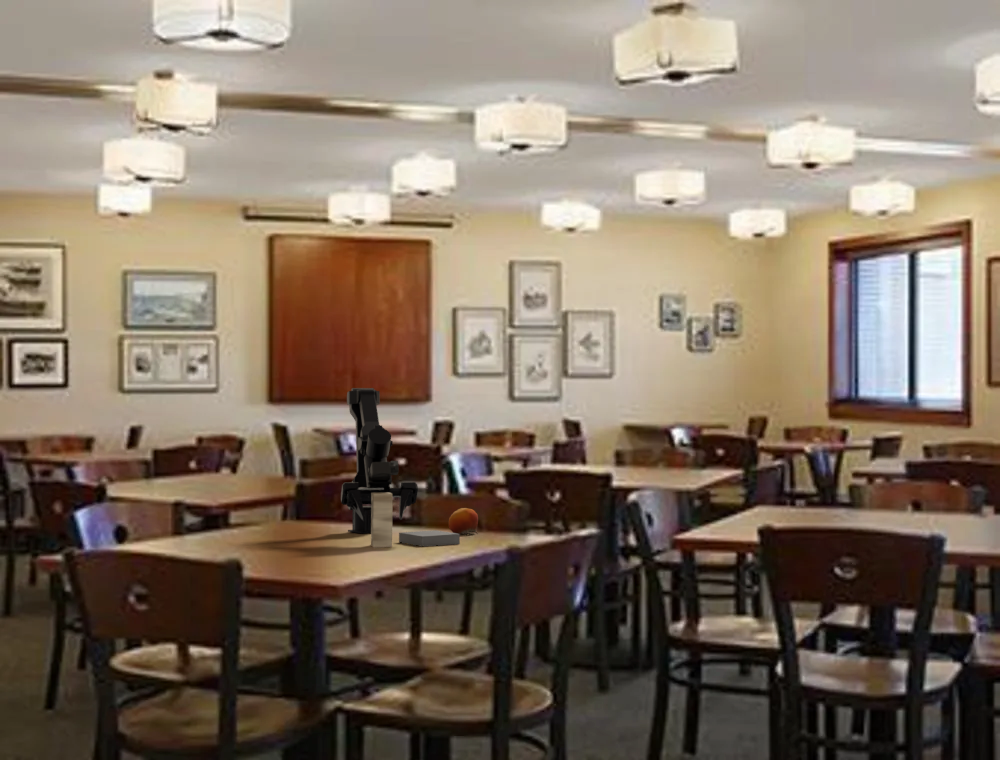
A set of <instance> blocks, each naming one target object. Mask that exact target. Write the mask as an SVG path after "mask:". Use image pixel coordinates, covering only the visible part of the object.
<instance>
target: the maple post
mask: <svg viewBox="0 0 1000 760" xmlns="http://www.w3.org/2000/svg"><path fill="white" fill-rule="evenodd" d="M370 506H371V533H370V546H371V547H373V548H392V547H393V497H392V493H371V504H370Z"/></svg>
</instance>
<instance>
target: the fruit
mask: <svg viewBox="0 0 1000 760" xmlns="http://www.w3.org/2000/svg"><path fill="white" fill-rule="evenodd" d="M478 524H479V515H478V513H477V512H476V510H474V509H472V508H467V507H461V508H458V509H457V510H455V511H454V512H453V513H451V515H450V516H449V518H448V528H449V530H450V531H451V533H456V534H460V535H464V534H465V535H468V533H470V534H471V533H476V534H477V535H478V534H479V532H477V529H478Z"/></svg>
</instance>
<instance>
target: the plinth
mask: <svg viewBox="0 0 1000 760" xmlns="http://www.w3.org/2000/svg"><path fill="white" fill-rule="evenodd" d="M460 536H461V534H456V533H453V532H449V531H442V530H420V531H406V532H405V531H402V532H398V543H399V542H402V543H401V544H405V543H408V544H407V545H410V544H413V545H412V546H416V545H419V546H418V547H422V546H424V547H436V545H438V546H449V545H460V544H461V542H460Z"/></svg>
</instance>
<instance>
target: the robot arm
mask: <svg viewBox="0 0 1000 760" xmlns="http://www.w3.org/2000/svg"><path fill="white" fill-rule="evenodd" d="M380 399H381V397H380V390H376V389H375V388H373V387H371V388H370V387H356V388H355V387H352V388H351V389H350V390H349V391H347V393H346V404H347V406H348V407H349V414H350V415H351V417H352V419H353V420H354V422H355V445H356V446H355V447H356V448H355V449H356V450H355V452H356V454H355V455H356V474H355V476H354V478H353V479H352V481H351V482H343V484H341V492H340V503H341V504H342V506H345V505H346V507H347V509H348V510H350V511H352V529H348V530H347V532H349V533H357V534H358V533H359V534H369V533H370V534H371V493H392V498H399V500H398V501H399V503H398V517H399V520H400V521H402V520H403V516H404V513H405V510H406V509H407V507H411V505H414V504H416V503H417V497H418V490H419V487H418V483H417V482H415V481H401V482H400V487H399V488H398V487H397V488H396V487H395V488H394V487H393V488H392V487H391V485H392V482H393V480H392V476H397V475H398V474H399V471H400V470H399V462H398V461H399V460H391V461H388V460H387V459H388V458H387V457H388V456H389V454H390V453H389V452H390V449H391V447H393V446H394V445H393V444H394V443H393V440H392V434H391V433H390V431H388V430H387V429H386V428H384V426H383V425H380V420H379V415H378V407H377V406H378V405H380V404H381V403H380V401H381V400H380Z"/></svg>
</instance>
